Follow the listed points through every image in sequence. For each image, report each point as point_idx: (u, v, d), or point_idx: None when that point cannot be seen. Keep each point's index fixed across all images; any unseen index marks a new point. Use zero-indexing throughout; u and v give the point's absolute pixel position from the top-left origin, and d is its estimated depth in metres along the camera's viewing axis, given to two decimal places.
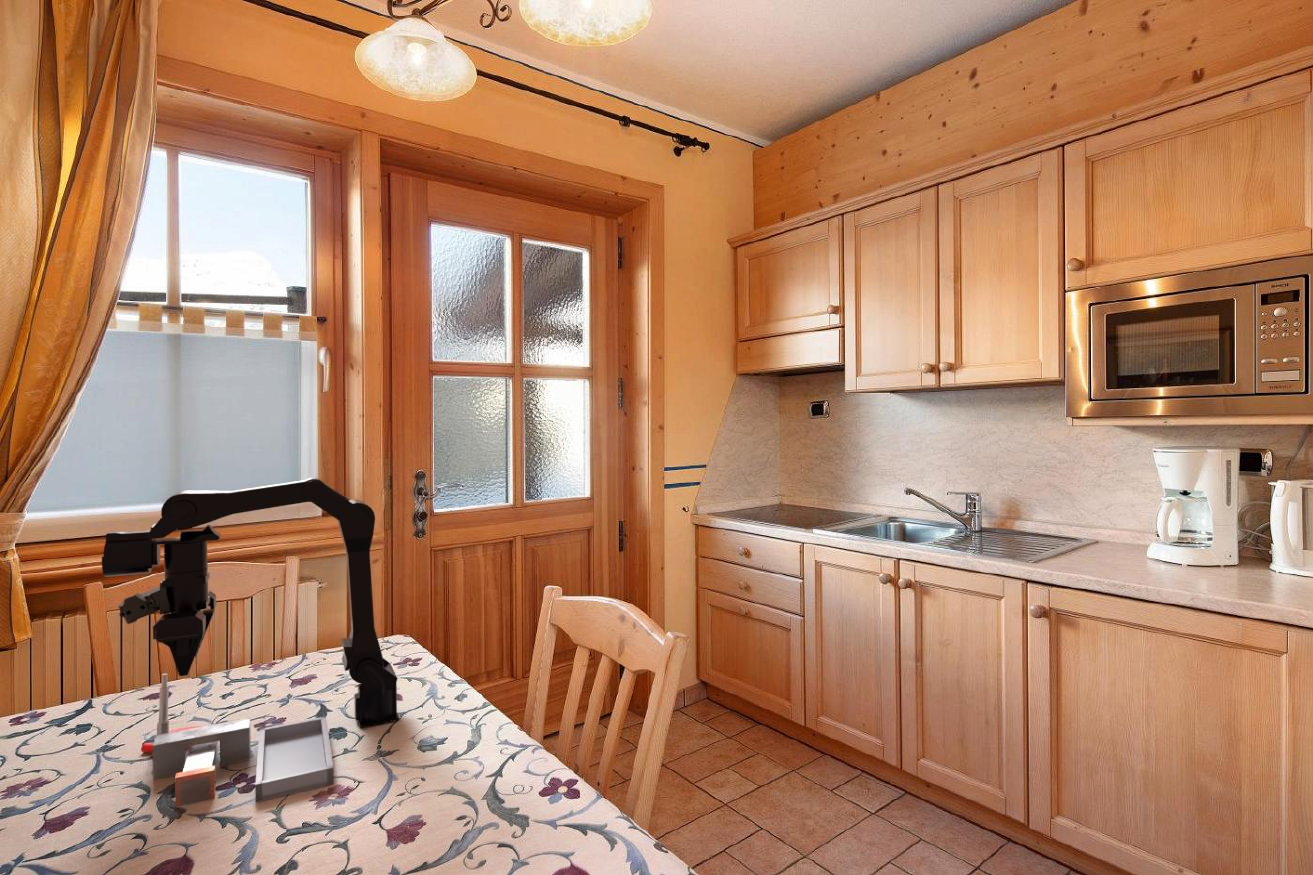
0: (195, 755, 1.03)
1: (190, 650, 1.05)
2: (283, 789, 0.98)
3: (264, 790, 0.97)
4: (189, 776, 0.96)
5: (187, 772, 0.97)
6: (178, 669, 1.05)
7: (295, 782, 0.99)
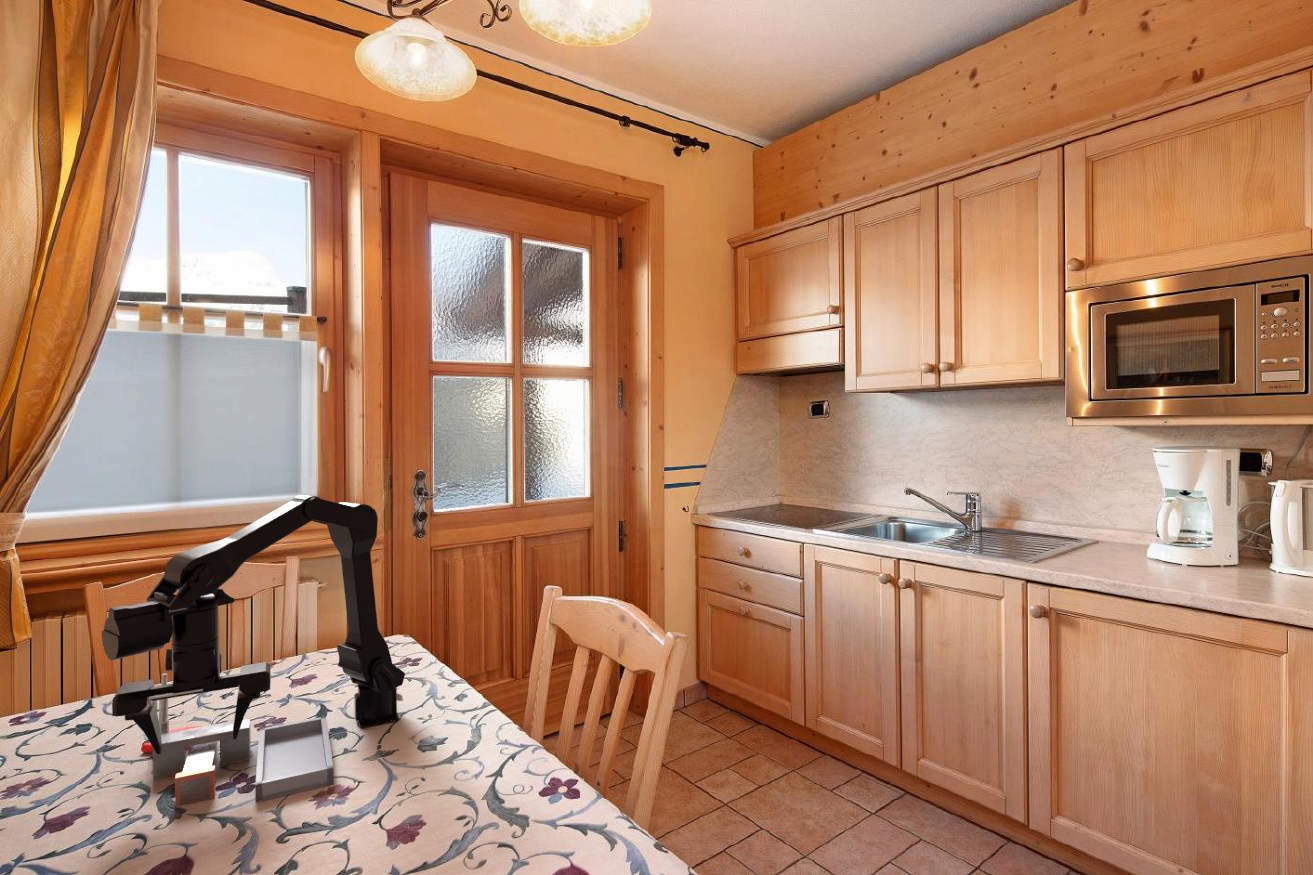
0: (195, 755, 1.03)
1: None
2: (283, 789, 0.98)
3: (264, 790, 0.97)
4: (189, 776, 0.96)
5: (187, 772, 0.97)
6: None
7: (295, 782, 0.99)
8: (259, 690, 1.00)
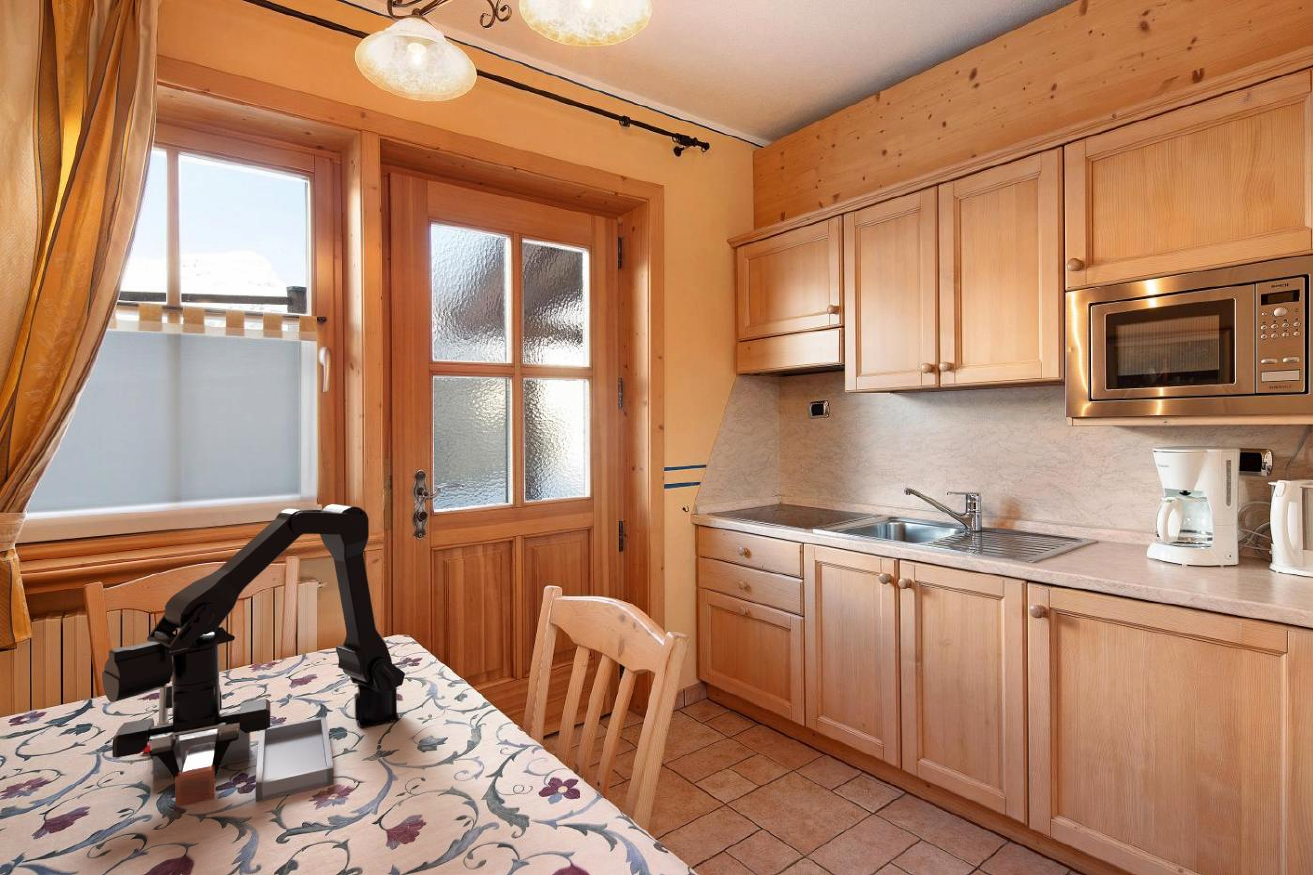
0: (195, 754, 1.03)
1: None
2: (283, 789, 0.98)
3: (264, 790, 0.97)
4: (189, 775, 0.96)
5: (187, 771, 0.97)
6: None
7: (295, 782, 0.99)
8: (259, 728, 1.00)
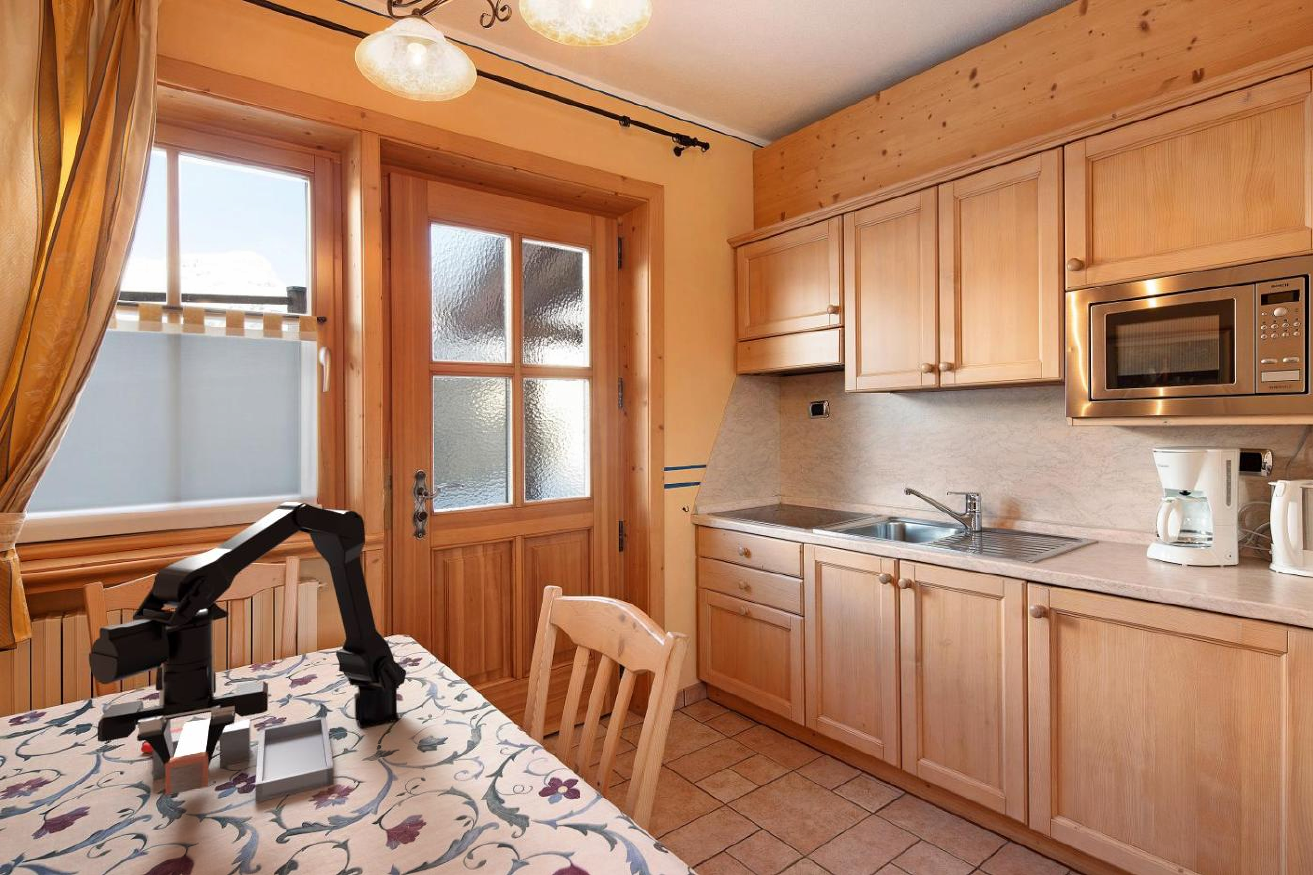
0: (187, 740, 0.97)
1: None
2: (283, 789, 0.98)
3: (264, 790, 0.97)
4: (180, 762, 0.90)
5: (178, 757, 0.90)
6: None
7: (295, 782, 0.99)
8: (256, 712, 0.94)
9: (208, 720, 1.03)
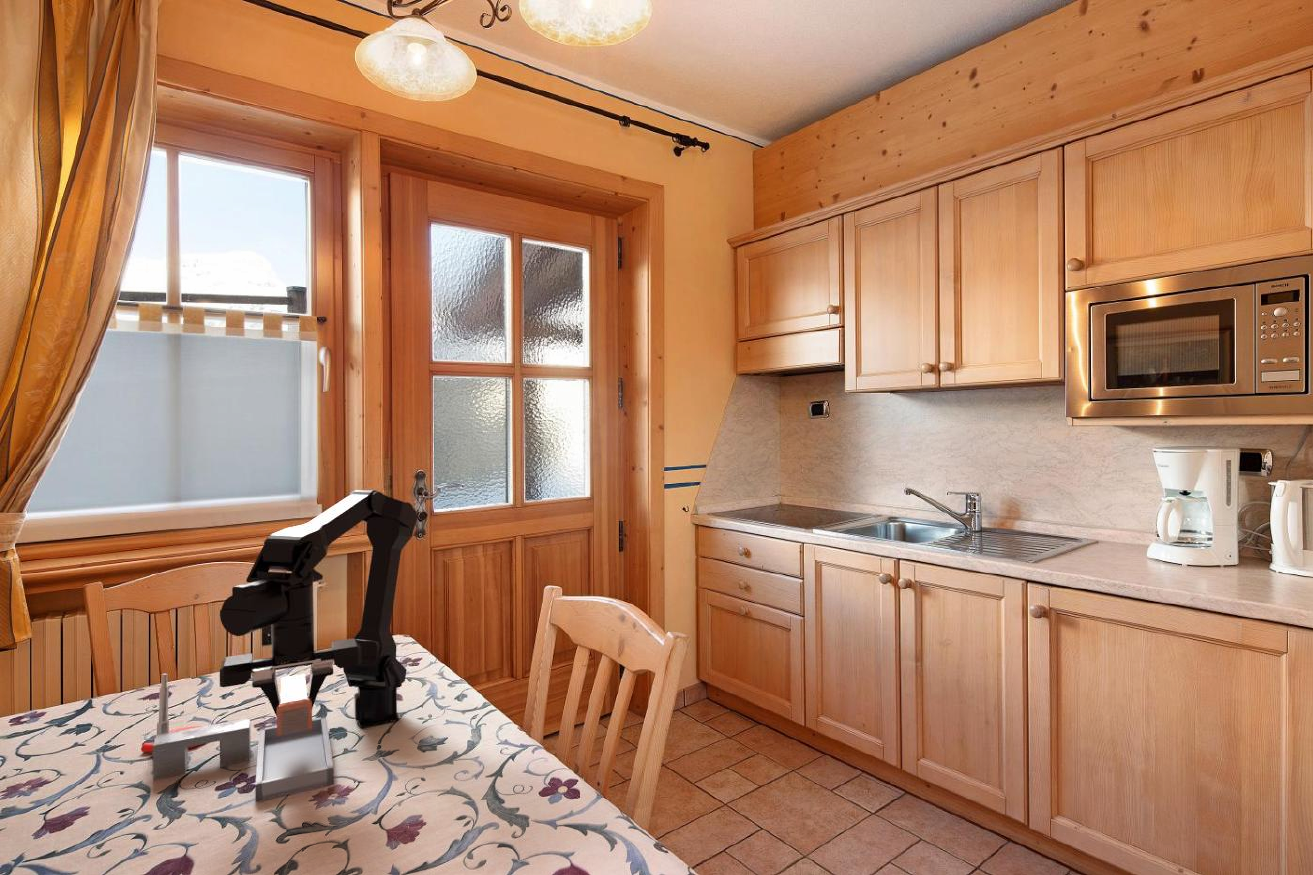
0: (288, 690, 1.08)
1: None
2: (283, 789, 0.98)
3: (264, 790, 0.97)
4: (289, 706, 1.01)
5: (287, 703, 1.01)
6: None
7: (295, 782, 0.99)
8: (352, 664, 1.05)
9: (301, 675, 1.14)
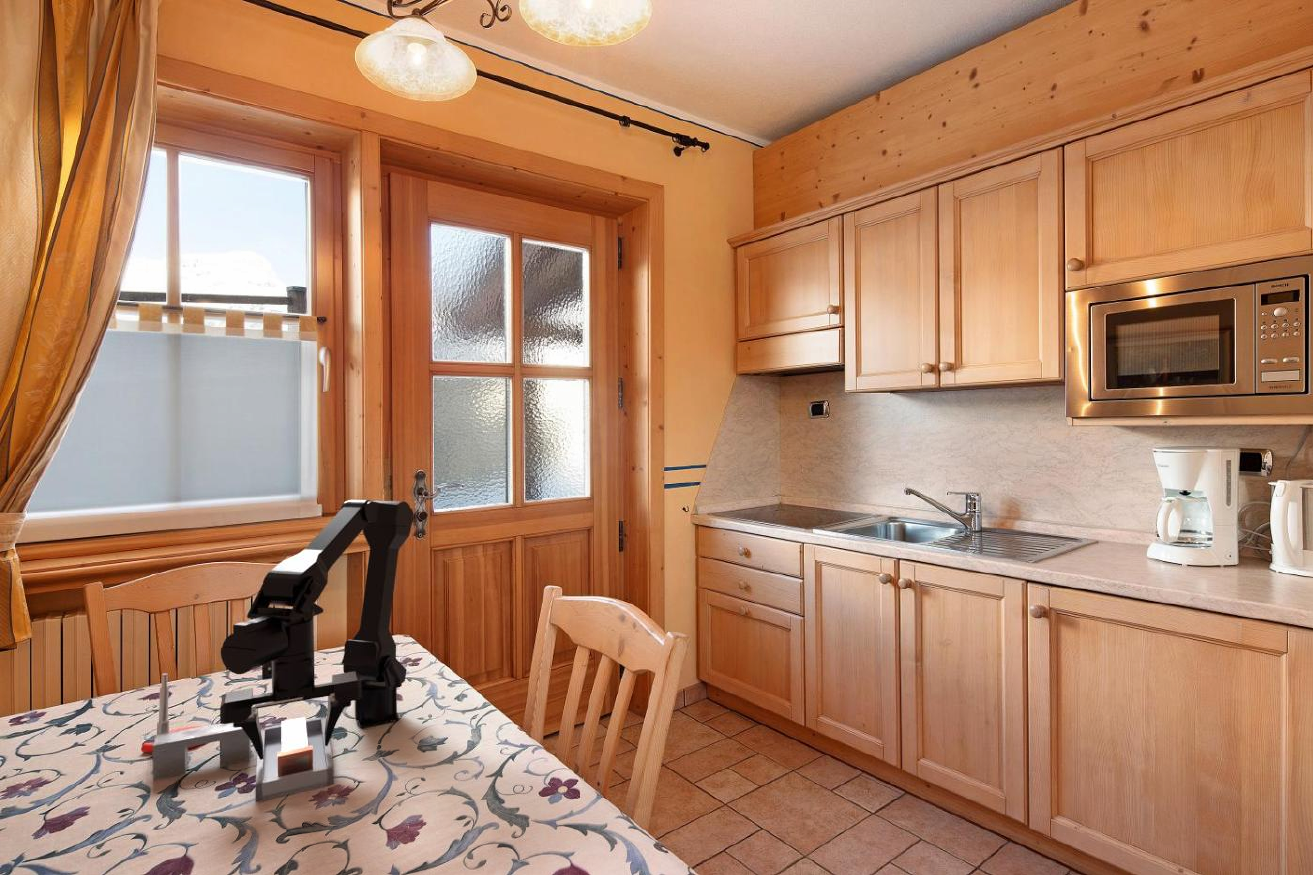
0: (289, 736, 1.08)
1: None
2: (283, 789, 0.98)
3: (264, 790, 0.97)
4: (290, 755, 1.01)
5: (287, 751, 1.01)
6: None
7: (295, 782, 0.99)
8: (352, 698, 1.05)
9: (302, 718, 1.14)
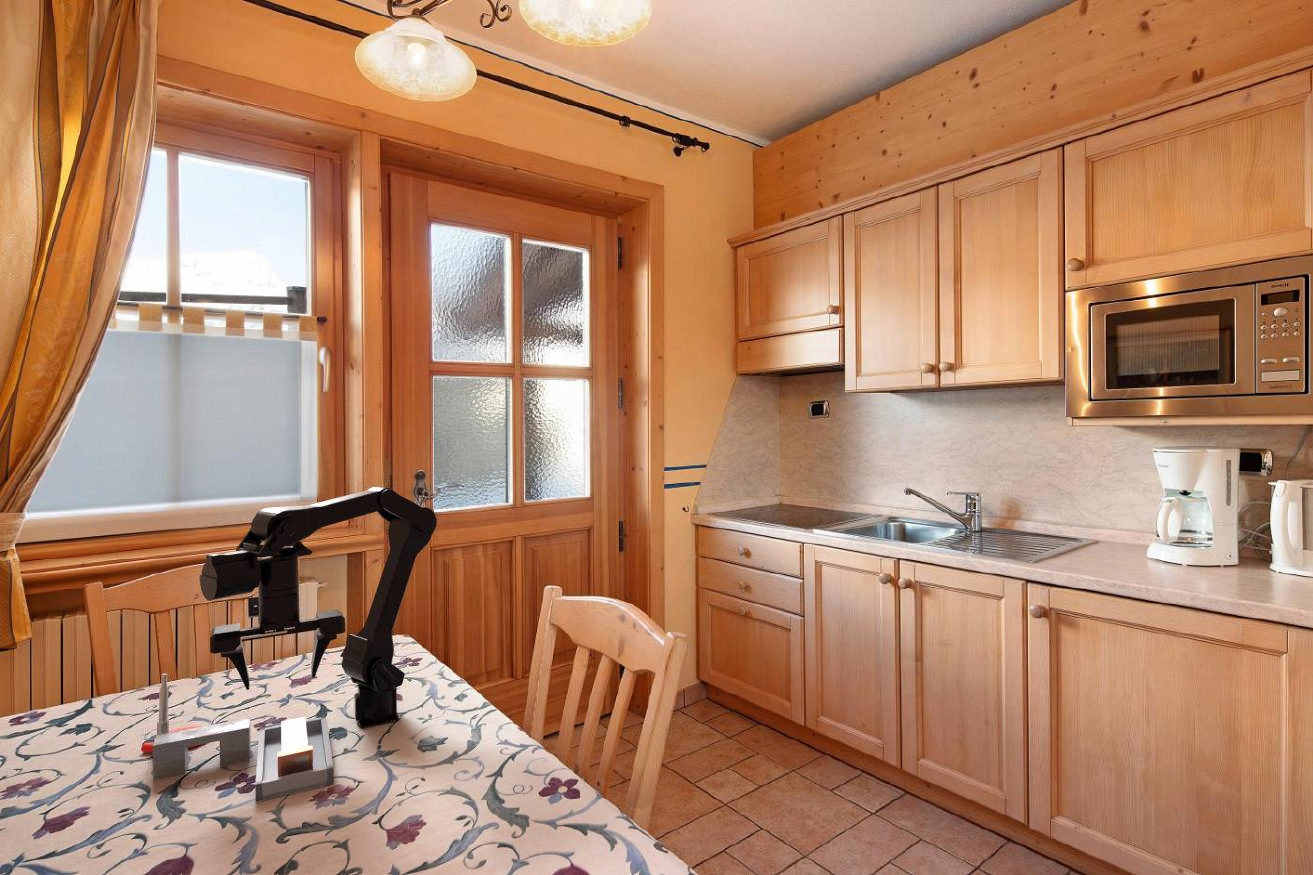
0: (289, 736, 1.08)
1: None
2: (283, 789, 0.98)
3: (264, 790, 0.97)
4: (290, 755, 1.01)
5: (287, 751, 1.01)
6: None
7: (295, 782, 0.99)
8: (336, 632, 1.11)
9: (302, 718, 1.14)
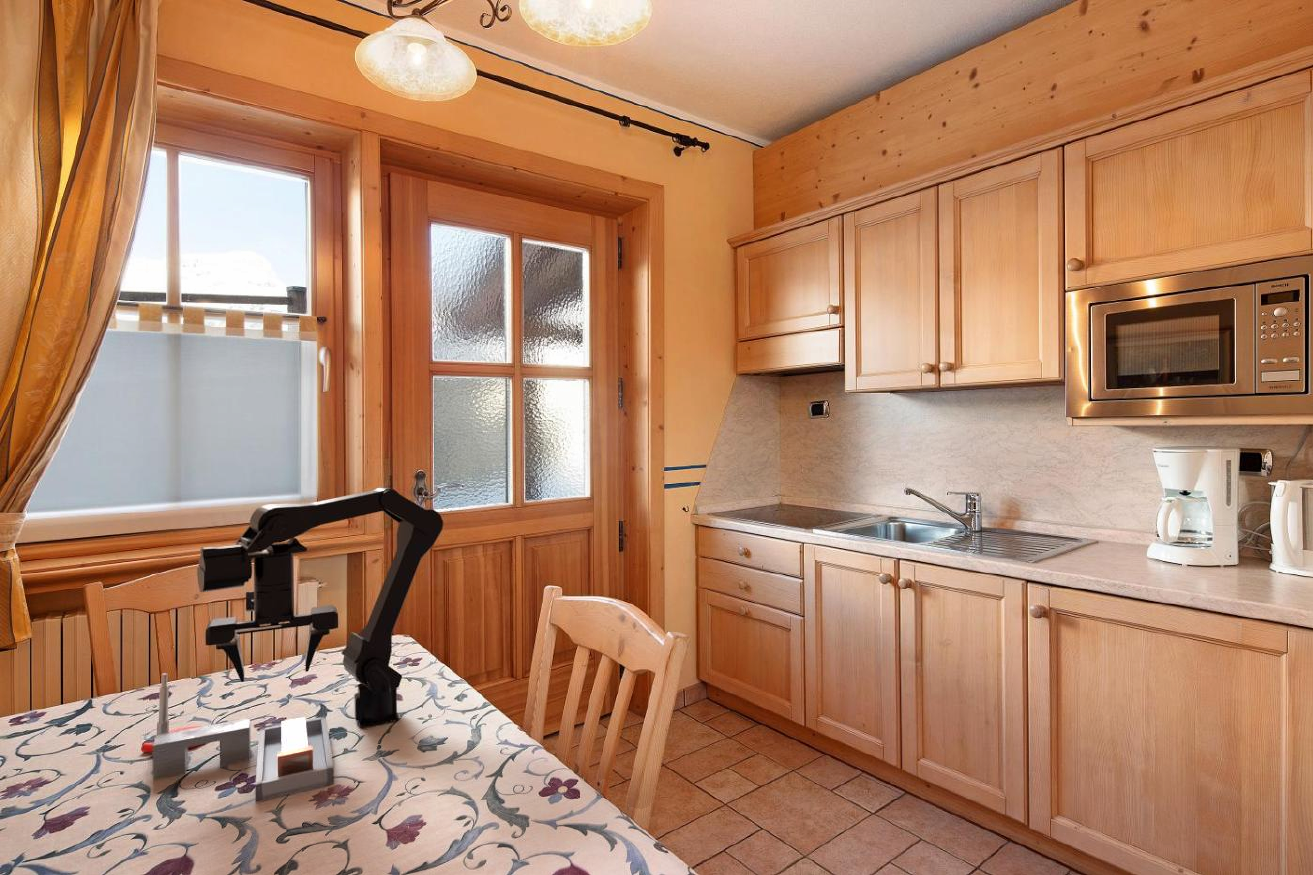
0: (289, 736, 1.08)
1: None
2: (283, 789, 0.98)
3: (264, 790, 0.97)
4: (290, 755, 1.01)
5: (287, 751, 1.01)
6: None
7: (295, 782, 0.99)
8: (329, 627, 1.13)
9: (302, 718, 1.14)
